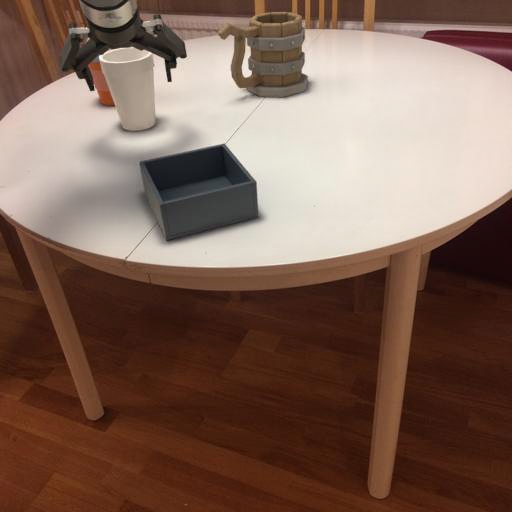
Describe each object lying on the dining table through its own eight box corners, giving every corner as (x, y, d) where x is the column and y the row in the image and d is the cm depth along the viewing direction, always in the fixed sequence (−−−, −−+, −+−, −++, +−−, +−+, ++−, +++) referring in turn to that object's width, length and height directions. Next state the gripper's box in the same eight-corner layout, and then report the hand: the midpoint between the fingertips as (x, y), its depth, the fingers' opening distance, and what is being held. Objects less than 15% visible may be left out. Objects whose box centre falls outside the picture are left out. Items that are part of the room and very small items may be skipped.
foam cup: (139, 111, 106) (127, 44, 99) (173, 119, 102) (162, 51, 94) (104, 127, 100) (87, 58, 93) (138, 138, 96) (123, 66, 88)
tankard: (283, 72, 121) (282, 2, 112) (318, 87, 112) (320, 12, 103) (208, 93, 113) (200, 18, 103) (239, 111, 104) (233, 31, 95)
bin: (166, 240, 69) (159, 204, 66) (145, 194, 79) (138, 161, 76) (258, 217, 73) (256, 181, 70) (227, 175, 83) (224, 143, 79)
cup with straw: (96, 94, 115) (76, 6, 104) (138, 91, 116) (122, 2, 105) (91, 110, 108) (68, 16, 97) (135, 106, 108) (117, 13, 98)
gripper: (19, 40, 70) (61, 107, 91) (204, 21, 73) (203, 90, 94) (13, -11, 71) (55, 67, 92) (195, -28, 74) (196, 52, 95)
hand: (130, 79), depth 93 cm, fingers open, 13 cm apart
